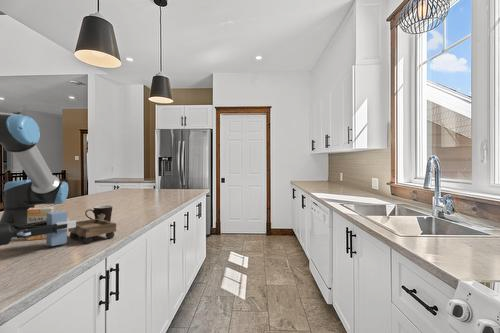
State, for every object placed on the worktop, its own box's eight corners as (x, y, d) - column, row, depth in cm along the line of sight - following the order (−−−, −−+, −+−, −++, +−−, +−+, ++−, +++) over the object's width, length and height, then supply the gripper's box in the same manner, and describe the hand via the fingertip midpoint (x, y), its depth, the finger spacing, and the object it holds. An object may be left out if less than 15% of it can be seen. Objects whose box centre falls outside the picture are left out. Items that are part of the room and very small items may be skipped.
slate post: (46, 243, 99) (46, 212, 99) (61, 240, 103) (61, 210, 103) (51, 246, 96) (51, 214, 96) (66, 242, 100) (67, 212, 100)
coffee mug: (115, 224, 136) (116, 205, 136) (105, 228, 128) (105, 208, 127) (95, 223, 137) (95, 204, 137) (83, 227, 129) (83, 207, 129)
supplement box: (26, 241, 105) (26, 209, 105) (29, 238, 109) (30, 207, 109) (51, 238, 109) (51, 208, 109) (53, 235, 113) (54, 206, 113)
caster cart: (68, 238, 110) (68, 223, 110) (97, 232, 120) (97, 218, 120) (85, 245, 101) (86, 228, 101) (115, 238, 111) (116, 223, 111)
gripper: (-15, 241, 90) (62, 228, 109) (0, 252, 80) (82, 235, 99) (-15, 220, 90) (63, 210, 109) (0, 228, 80) (82, 216, 99)
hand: (72, 222), depth 104 cm, fingers closed on slate post, 5 cm apart
